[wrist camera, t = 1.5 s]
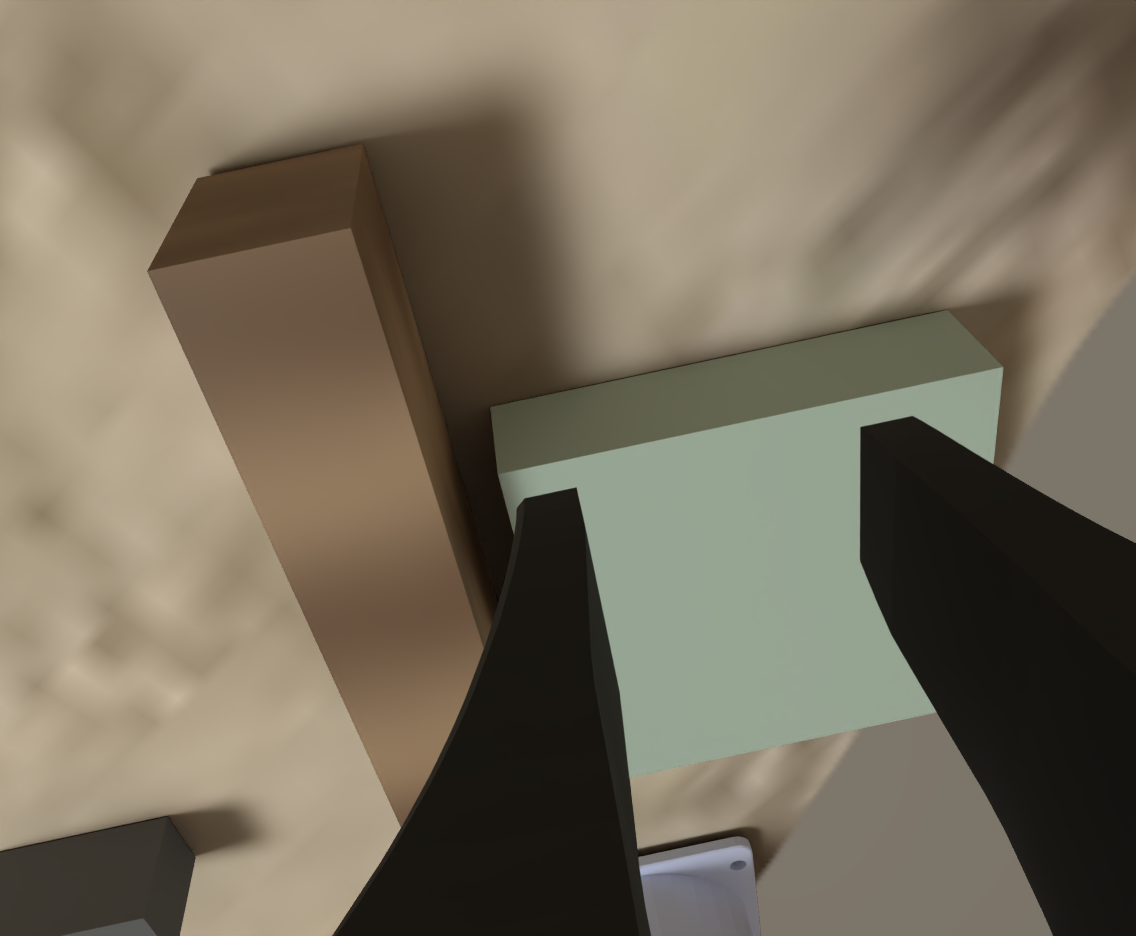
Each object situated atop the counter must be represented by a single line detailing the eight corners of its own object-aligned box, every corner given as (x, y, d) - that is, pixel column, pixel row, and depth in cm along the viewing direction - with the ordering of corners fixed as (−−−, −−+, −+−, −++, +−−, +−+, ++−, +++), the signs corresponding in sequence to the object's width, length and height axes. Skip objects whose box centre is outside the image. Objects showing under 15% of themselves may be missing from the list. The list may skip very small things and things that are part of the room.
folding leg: (541, 738, 27) (558, 877, 24) (426, 762, 27) (428, 904, 24) (368, 142, 18) (357, 231, 14) (192, 179, 18) (136, 278, 14)
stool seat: (927, 635, 27) (968, 705, 25) (568, 711, 27) (581, 787, 25) (947, 309, 21) (1003, 366, 19) (490, 406, 21) (497, 474, 19)
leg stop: (195, 857, 29) (174, 958, 26) (26, 893, 29) (-11, 998, 26) (167, 816, 28) (143, 918, 25) (-9, 854, 28) (-51, 959, 25)
